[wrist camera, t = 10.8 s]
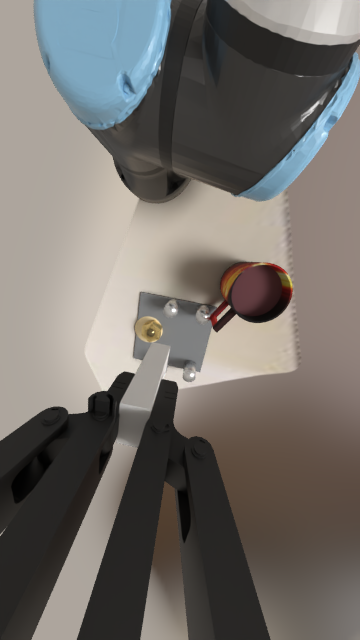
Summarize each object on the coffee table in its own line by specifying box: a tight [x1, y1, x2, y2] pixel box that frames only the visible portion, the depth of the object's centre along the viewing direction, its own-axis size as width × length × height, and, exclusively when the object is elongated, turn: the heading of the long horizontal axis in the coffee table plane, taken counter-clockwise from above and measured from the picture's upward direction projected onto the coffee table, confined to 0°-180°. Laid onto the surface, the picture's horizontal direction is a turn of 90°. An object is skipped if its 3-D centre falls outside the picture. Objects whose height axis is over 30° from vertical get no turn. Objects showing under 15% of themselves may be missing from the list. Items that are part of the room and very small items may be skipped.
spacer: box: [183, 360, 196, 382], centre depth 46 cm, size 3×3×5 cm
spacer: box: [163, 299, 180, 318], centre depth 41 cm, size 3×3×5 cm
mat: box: [134, 292, 217, 372], centre depth 47 cm, size 18×18×1 cm
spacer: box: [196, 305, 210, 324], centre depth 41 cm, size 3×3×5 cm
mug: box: [210, 262, 293, 332], centre depth 36 cm, size 10×14×12 cm
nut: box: [141, 320, 163, 342], centre depth 45 cm, size 5×4×2 cm
